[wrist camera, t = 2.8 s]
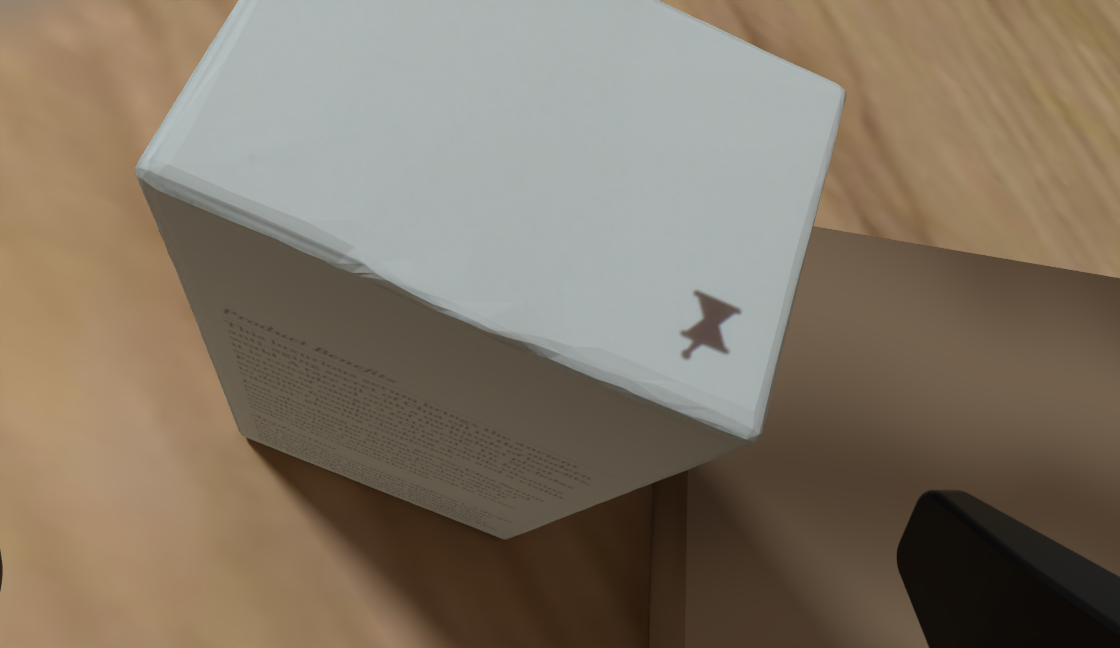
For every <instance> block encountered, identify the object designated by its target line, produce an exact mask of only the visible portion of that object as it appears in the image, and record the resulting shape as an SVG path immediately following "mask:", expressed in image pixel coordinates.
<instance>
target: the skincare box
mask: <svg viewBox="0 0 1120 648" xmlns="http://www.w3.org/2000/svg"><path fill="white" fill-rule="evenodd" d="M846 96H847V95H846V92H845V90H844V89H843V88H842V87H841V86H840V85H839V84H836V83H834V82H832V81H830V80H828V79H826V78H823V77H821V76H819V75H817V74H815V73H812V72H810V71H808V70H806V69H804V68H801V67H799V66H797V65H795V64H792V63H790V62H788V61H786V60H783V59H781V58H779V57H777V56H775V55H772V54H770V53H768V52H766V51H764V50H762V49H760V48H758V47H756V46H753V45H751V44H749V43H747V42H745V41H743V40H741V39H739V38H737V37H735V36H733V35H731V34H729V33H727V32H725V31H722V30H720V29H718V28H716V27H714V26H712V25H710V24H708V23H705V22H703V21H701V20H699V19H697V18H694V17H692V16H690V15H688V14H686V13H684V12H682V11H679V10H677V9H675V8H673V7H671V6H669V5H667V4H665V3H663V2H661V1H659V0H239V1H238V3H237V4H236V6H235V7H234V9H233V11H232V12H231V14H230V15H229V17H228V18H227V20H226V21H225V23H224V25H223V26H222V28H221V29H220V31H219V32H218V34H217V36H216V37H215V39H214V40H213V42H212V43H211V45H210V46H209V48H208V50H207V51H206V53H205V54H204V56H203V58H202V59H201V61H200V62H199V64H198V66H197V67H196V69H195V71H194V72H193V74H192V75H191V77H190V79H189V80H188V82H187V83H186V85H185V87H184V88H183V90H182V92H181V93H180V95H179V96H178V98H177V100H176V101H175V103H174V104H173V106H172V108H171V109H170V111H169V113H168V114H167V116H166V117H165V119H164V121H163V122H162V124H161V126H160V127H159V129H158V130H157V132H156V134H155V135H154V137H153V138H152V140H151V142H150V143H149V145H148V147H147V148H146V150H145V151H144V153H143V155H142V156H141V158H140V160H139V162H138V164H137V166H136V168H135V169H136V177H137V179H138V181H139V184H140V186H141V188H142V191H143V193H144V195H145V198H146V200H147V202H148V205H149V207H150V209H151V211H152V214H153V216H154V218H155V220H156V223H157V226H158V229H159V232H160V234H161V236H162V238H163V240H164V242H165V245H166V248H167V251H168V254H169V256H170V258H171V260H172V262H173V264H174V267H175V269H176V272H177V274H178V277H179V279H180V282H181V284H182V287H183V289H184V292H185V295H186V297H187V299H188V302H189V304H190V307H191V310H192V312H193V315H194V317H195V320H196V322H197V324H198V327H199V330H200V333H201V335H202V338H203V341H204V343H205V346H206V348H207V350H208V353H209V355H210V358H211V360H212V363H213V366H214V368H215V371H216V373H217V376H218V378H219V381H220V384H221V386H222V389H223V391H224V394H225V396H226V399H227V402H228V405H229V406H230V409H231V412H232V414H233V417H234V420H235V422H236V424H237V426H238V429H239V431H240V433H241V434H242V435H243V436H244V437H246V438H249V439H251V440H254V441H256V442H259V443H261V444H264V445H266V446H269V447H271V448H274V449H276V450H279V451H281V452H284V453H286V454H289V455H291V456H294V457H296V458H299V459H301V460H304V461H306V462H309V463H311V464H314V465H316V466H319V467H322V468H324V469H327V470H329V471H332V472H334V473H337V474H340V475H342V476H345V477H347V478H349V479H352V480H354V481H357V482H359V483H362V484H364V485H367V486H369V487H372V488H374V489H377V490H379V491H382V492H384V493H387V494H390V495H392V496H395V497H397V498H400V499H402V500H405V501H407V502H410V503H412V504H415V505H417V506H420V507H422V508H425V509H428V510H430V511H433V512H435V513H438V514H441V515H443V516H446V517H448V518H451V519H453V520H456V521H458V522H461V523H463V524H466V525H468V526H471V527H474V528H476V529H479V530H481V531H484V532H486V533H489V534H491V535H494V536H496V537H498V538H501V539H505V540H506V539H510V538H512V537H514V536H517V535H521V534H523V533H525V532H528V531H531V530H533V529H536V528H539V527H541V526H543V525H546V524H548V523H551V522H553V521H556V520H558V519H561V518H563V517H566V516H569V515H572V514H574V513H576V512H579V511H582V510H585V509H587V508H590V507H592V506H594V505H597V504H599V503H602V502H605V501H608V500H611V499H613V498H615V497H618V496H621V495H623V494H626V493H628V492H631V491H633V490H635V489H638V488H641V487H644V486H647V485H649V484H652V483H654V482H657V481H659V480H662V479H665V478H667V477H670V476H673V475H675V474H678V473H681V472H683V471H686V470H689V469H691V468H693V467H696V466H698V465H701V464H704V463H706V462H709V461H712V460H715V459H717V458H720V457H723V456H725V455H728V454H730V453H732V452H735V451H737V450H739V449H742V448H745V447H747V446H750V445H753V444H754V443H756V442H757V441H758V440H760V438H761V437H762V433H763V429H764V425H765V421H766V417H767V413H768V409H769V405H770V401H771V396H772V392H773V388H774V384H775V380H776V375H777V371H778V367H779V363H780V359H781V355H782V350H783V346H784V342H785V338H786V334H787V330H788V326H789V322H790V318H791V314H792V309H793V305H794V301H795V297H796V293H797V289H798V285H799V281H800V277H801V273H802V269H803V265H804V261H805V257H806V253H807V249H808V245H809V241H810V237H811V233H812V229H813V225H814V221H815V217H816V213H817V209H818V205H819V201H820V197H821V193H822V190H823V186H824V182H825V179H826V175H827V171H828V167H829V164H830V160H831V156H832V151H833V147H834V143H835V139H836V135H837V131H838V127H839V123H840V119H841V115H842V111H843V107H844V103H845V100H846Z"/></svg>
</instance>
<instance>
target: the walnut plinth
mask: <svg viewBox="0 0 1120 648" xmlns="http://www.w3.org/2000/svg"><path fill="white" fill-rule="evenodd" d="M948 489H955V490H962V491H965V492H967V493H969V494H971V495H973V496H974V497H976V498H978V499H980V500H982V501H984V502H985V503H987V504H989V505H991V506H993V507H994V508H996V509H998V510H1000V511H1002V512H1003V513H1005V514H1007V515H1009V516H1011V517H1013V518H1014V519H1016V520H1018V521H1020V522H1022V523H1023V524H1025V525H1027V526H1029V527H1031V528H1032V529H1034V530H1036V531H1038V532H1040V533H1042V534H1043V535H1045V536H1047V537H1049V538H1051V539H1052V540H1054V541H1056V542H1058V543H1060V544H1061V545H1063V546H1065V547H1067V548H1069V549H1071V550H1072V551H1074V552H1076V553H1078V554H1080V555H1081V556H1083V557H1085V558H1087V559H1089V560H1091V561H1092V562H1094V563H1096V564H1098V565H1100V566H1101V567H1103V568H1105V569H1107V570H1109V571H1110V572H1112V573H1114V574H1116V575H1118V576H1120V278H1115V277H1109V276H1103V275H1097V274H1091V273H1085V272H1079V271H1073V270H1067V269H1062V268H1056V267H1050V266H1044V265H1038V264H1032V263H1026V262H1020V261H1014V260H1008V259H1003V258H997V257H991V256H985V255H979V254H973V253H967V252H961V251H955V250H949V249H944V248H938V247H932V246H926V245H920V244H914V243H908V242H902V241H896V240H890V239H885V238H879V237H873V236H867V235H861V234H855V233H849V232H843V231H837V230H831V229H826V228H820V227H814V226H813V229H812V233H811V237H810V241H809V245H808V249H807V253H806V257H805V261H804V265H803V269H802V273H801V277H800V281H799V285H798V289H797V293H796V297H795V301H794V305H793V309H792V314H791V318H790V322H789V326H788V330H787V334H786V338H785V342H784V346H783V350H782V355H781V359H780V363H779V367H778V371H777V375H776V380H775V384H774V388H773V392H772V396H771V401H770V405H769V409H768V413H767V417H766V421H765V425H764V429H763V433H762V437H761V438H760V440H758V441H757V442H756V443H754V444H753V445H750V446H747V447H745V448H742V449H739V450H737V451H735V452H732V453H730V454H728V455H725V456H723V457H720V458H717V459H715V460H712V461H709V462H706V463H704V464H701V465H698V466H696V467H693V468H691V469H689V470H686V471H683V472H681V473H678V474H675V475H673V476H670V477H667V478H665V479H662V480H659V481H657V482H654V483H653V516H652V553H651V589H650V626H649V648H929V646H928V644H927V641H926V639H925V636H924V634H923V631H922V629H921V626H920V624H919V621H918V619H917V616H916V614H915V611H914V609H913V606H912V604H911V601H910V598H909V596H908V593H907V591H906V588H905V586H904V583H903V581H902V578H901V576H900V573H899V570H898V566H897V558H896V554H897V547H898V544H899V542H900V539H901V537H902V535H903V532H904V530H905V528H906V525H907V523H908V521H909V518H910V516H911V514H912V511H913V509H914V507H915V504H916V502H917V500H918V498H919V497H920V496H921V495H922V494H923V493H924V492H925V491H928V490H948Z"/></svg>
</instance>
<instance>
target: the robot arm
mask: <svg viewBox="0 0 1120 648" xmlns="http://www.w3.org/2000/svg"><path fill="white" fill-rule="evenodd" d="M896 558H897V566H898V570H899V573H900V576H901V578H902V581H903V583H904V586H905V588H906V591H907V593H908V596H909V598H910V601H911V604H912V606H913V609H914V611H915V614H916V616H917V619H918V621H919V624H920V626H921V629H922V631H923V634H924V636H925V639H926V641H927V644H928V646H929V648H1120V576H1118V575H1116V574H1114V573H1112V572H1110V571H1109V570H1107V569H1105V568H1103V567H1101V566H1100V565H1098V564H1096V563H1094V562H1092V561H1091V560H1089V559H1087V558H1085V557H1083V556H1081V555H1080V554H1078V553H1076V552H1074V551H1072V550H1071V549H1069V548H1067V547H1065V546H1063V545H1061V544H1060V543H1058V542H1056V541H1054V540H1052V539H1051V538H1049V537H1047V536H1045V535H1043V534H1042V533H1040V532H1038V531H1036V530H1034V529H1032V528H1031V527H1029V526H1027V525H1025V524H1023V523H1022V522H1020V521H1018V520H1016V519H1014V518H1013V517H1011V516H1009V515H1007V514H1005V513H1003V512H1002V511H1000V510H998V509H996V508H994V507H993V506H991V505H989V504H987V503H985V502H984V501H982V500H980V499H978V498H976V497H974V496H973V495H971V494H969V493H967V492H965V491H962V490H955V489H948V490H928V491H925V492H924V493H923V494H922V495H921V496H920V497H919V498H918V500H917V502H916V504H915V507H914V509H913V511H912V514H911V516H910V518H909V521H908V523H907V525H906V528H905V530H904V532H903V535H902V537H901V539H900V542H899V544H898V547H897V554H896ZM2 574H3V566H2V558H1V551H0V590H1V584H2Z"/></svg>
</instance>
